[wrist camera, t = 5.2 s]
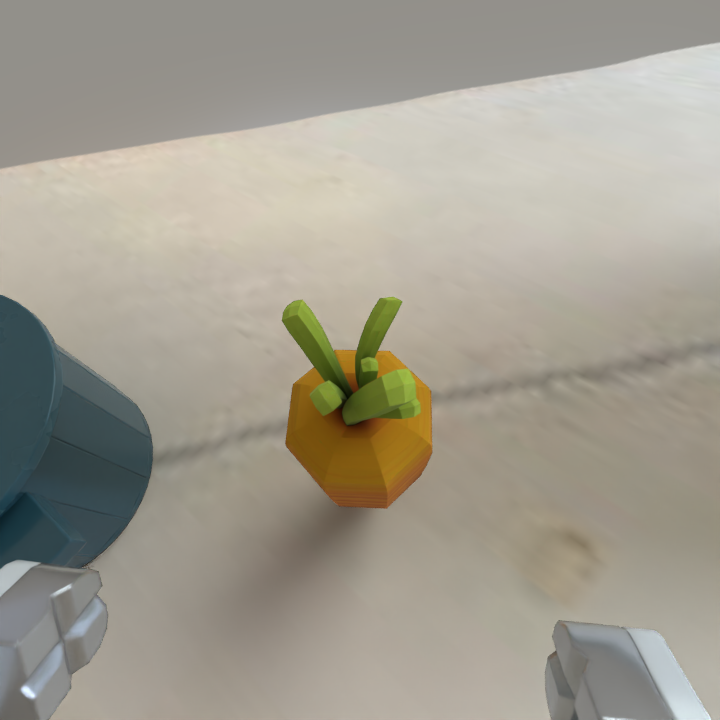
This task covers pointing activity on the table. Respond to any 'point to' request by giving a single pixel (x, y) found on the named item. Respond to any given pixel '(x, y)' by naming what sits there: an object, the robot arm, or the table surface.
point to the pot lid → (25, 395)
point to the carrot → (357, 413)
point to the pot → (81, 475)
